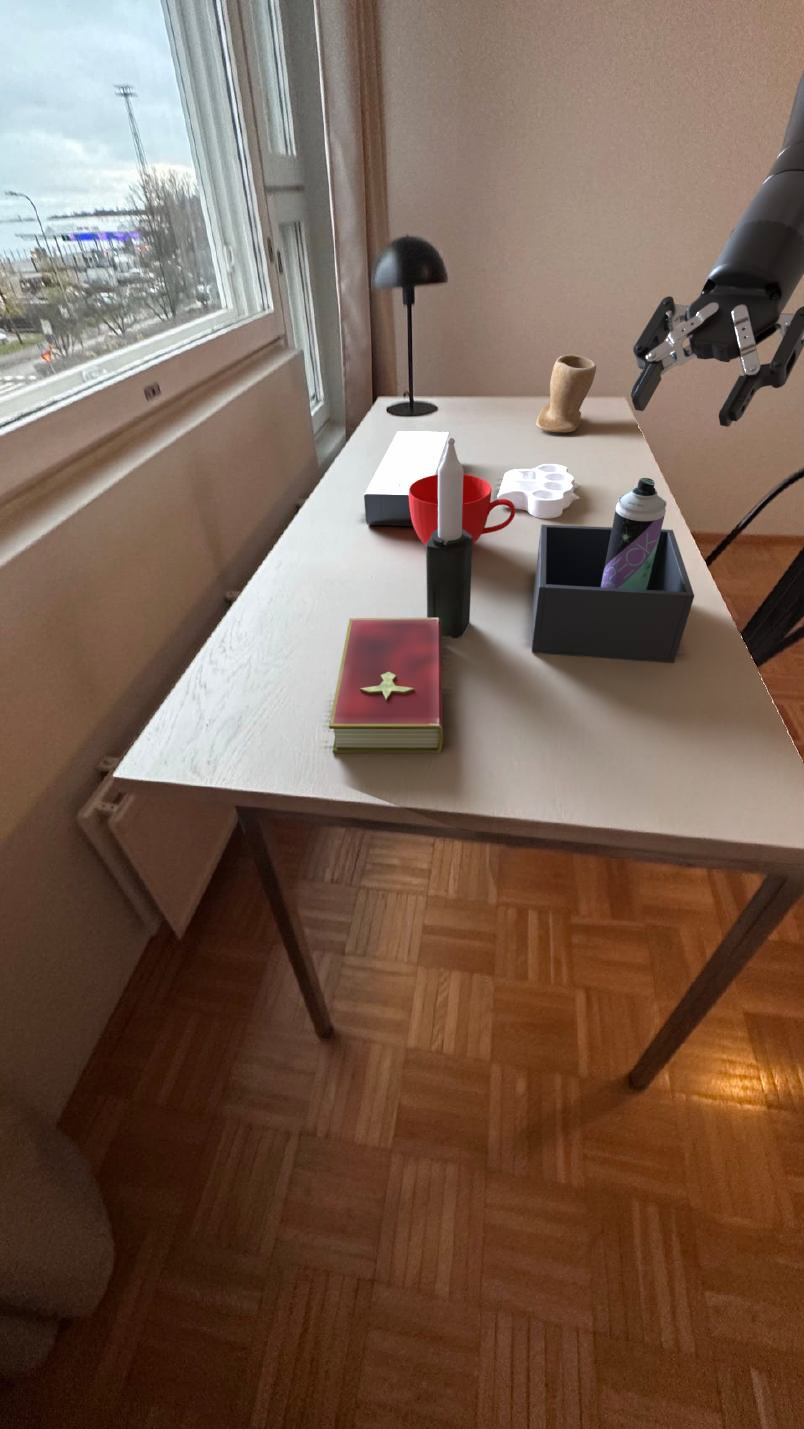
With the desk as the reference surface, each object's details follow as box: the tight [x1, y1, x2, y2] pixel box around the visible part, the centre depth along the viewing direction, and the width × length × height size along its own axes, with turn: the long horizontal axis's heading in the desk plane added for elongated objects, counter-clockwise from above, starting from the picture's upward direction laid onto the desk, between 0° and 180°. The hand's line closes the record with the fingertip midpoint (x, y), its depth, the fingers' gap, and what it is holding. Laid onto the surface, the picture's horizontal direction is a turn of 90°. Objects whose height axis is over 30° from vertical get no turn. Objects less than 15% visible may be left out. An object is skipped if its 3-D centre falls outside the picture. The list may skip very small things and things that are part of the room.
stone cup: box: [535, 353, 597, 433], centre depth 146 cm, size 15×12×15 cm
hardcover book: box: [328, 617, 444, 754], centre depth 75 cm, size 12×21×4 cm, turn 178°
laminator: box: [363, 430, 451, 527], centre depth 122 cm, size 34×12×6 cm, turn 171°
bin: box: [531, 524, 695, 664], centre depth 84 cm, size 18×18×10 cm
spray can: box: [601, 477, 667, 590], centre depth 77 cm, size 6×6×20 cm
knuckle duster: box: [496, 463, 581, 520], centre depth 118 cm, size 3×18×15 cm
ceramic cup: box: [409, 473, 516, 547], centre depth 101 cm, size 13×17×10 cm
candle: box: [425, 437, 474, 639], centre depth 79 cm, size 5×5×25 cm
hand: (678, 413), depth 59 cm, fingers open, 8 cm apart
